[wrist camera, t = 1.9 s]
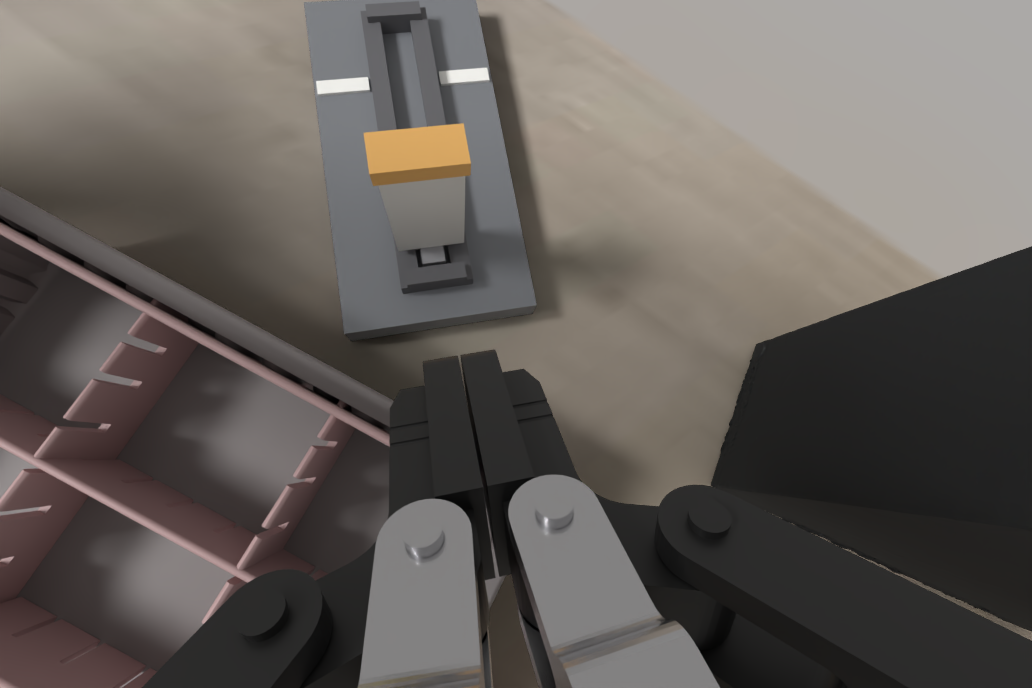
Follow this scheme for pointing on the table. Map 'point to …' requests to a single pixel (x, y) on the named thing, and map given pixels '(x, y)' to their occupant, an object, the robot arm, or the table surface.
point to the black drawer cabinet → (904, 434)
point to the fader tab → (422, 185)
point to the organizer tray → (157, 459)
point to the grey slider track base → (401, 105)
